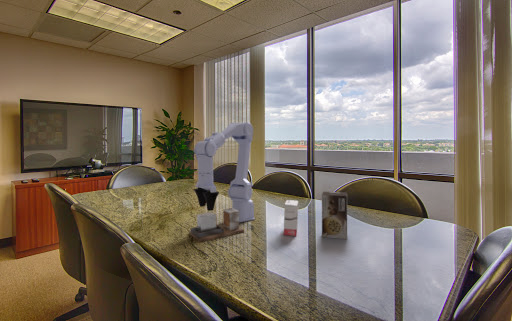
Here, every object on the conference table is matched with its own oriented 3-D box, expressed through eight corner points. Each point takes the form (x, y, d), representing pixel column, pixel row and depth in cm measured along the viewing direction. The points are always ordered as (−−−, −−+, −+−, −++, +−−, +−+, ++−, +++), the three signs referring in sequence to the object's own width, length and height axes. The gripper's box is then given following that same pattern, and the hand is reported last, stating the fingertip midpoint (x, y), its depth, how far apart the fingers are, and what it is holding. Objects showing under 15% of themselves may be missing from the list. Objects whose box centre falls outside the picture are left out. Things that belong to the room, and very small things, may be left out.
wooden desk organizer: (231, 224, 115) (230, 206, 115) (244, 232, 106) (243, 212, 106) (188, 233, 105) (188, 213, 105) (199, 242, 96) (198, 220, 96)
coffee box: (347, 233, 103) (347, 192, 102) (347, 239, 97) (347, 195, 96) (322, 231, 106) (323, 190, 105) (321, 237, 100) (321, 194, 99)
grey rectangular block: (197, 232, 104) (197, 214, 103) (212, 229, 107) (212, 211, 106) (201, 235, 100) (200, 216, 100) (217, 232, 104) (216, 214, 103)
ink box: (297, 236, 101) (297, 205, 100) (283, 235, 102) (283, 204, 101) (298, 228, 109) (298, 200, 109) (285, 228, 110) (285, 199, 110)
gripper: (188, 171, 106) (189, 205, 107) (202, 175, 94) (203, 214, 95) (205, 170, 110) (206, 203, 111) (221, 174, 97) (222, 211, 98)
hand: (206, 208), depth 103 cm, fingers open, 7 cm apart
